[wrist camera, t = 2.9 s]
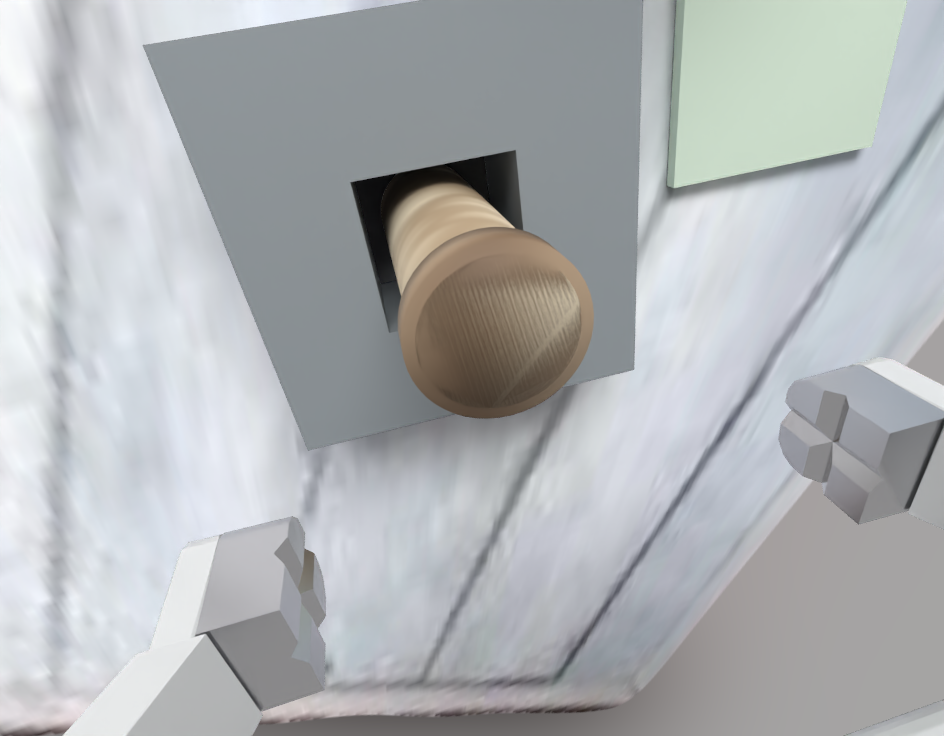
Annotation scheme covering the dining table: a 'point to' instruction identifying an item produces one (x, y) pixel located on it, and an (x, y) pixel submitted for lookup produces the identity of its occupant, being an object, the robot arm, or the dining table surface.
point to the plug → (480, 299)
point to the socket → (403, 149)
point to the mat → (775, 82)
